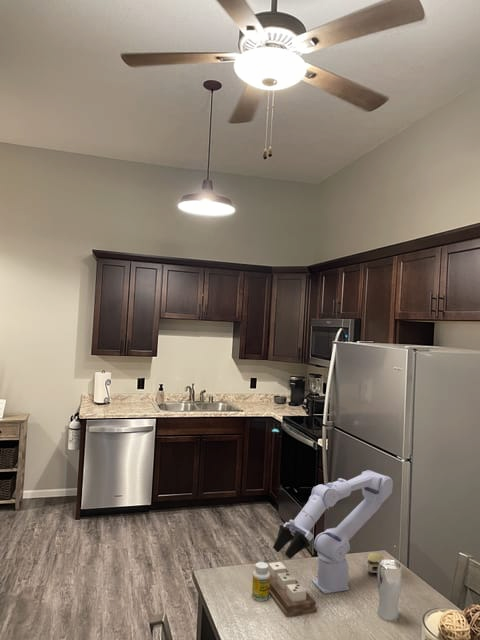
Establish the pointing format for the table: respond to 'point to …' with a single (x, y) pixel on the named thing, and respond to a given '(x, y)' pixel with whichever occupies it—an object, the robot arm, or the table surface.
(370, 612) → the table surface
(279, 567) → the key one
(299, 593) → the key three
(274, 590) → the brown wooden tray
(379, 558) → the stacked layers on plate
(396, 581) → the beer glass
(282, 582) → the key two
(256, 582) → the supplement bottle
